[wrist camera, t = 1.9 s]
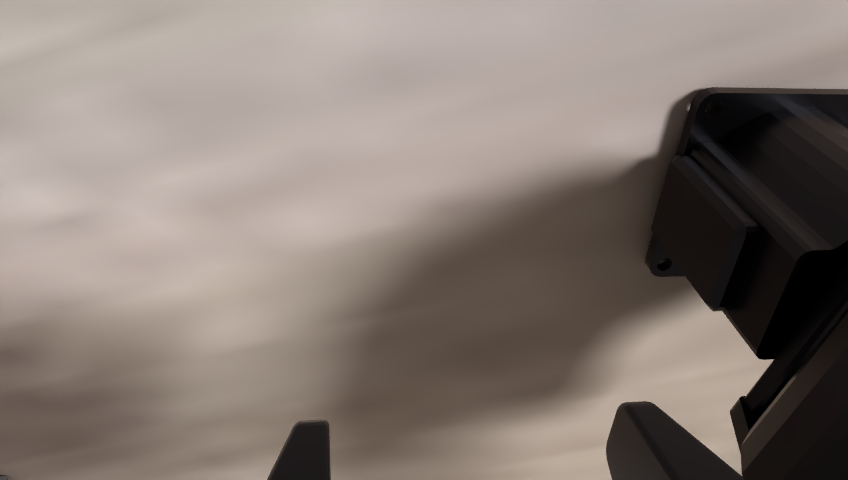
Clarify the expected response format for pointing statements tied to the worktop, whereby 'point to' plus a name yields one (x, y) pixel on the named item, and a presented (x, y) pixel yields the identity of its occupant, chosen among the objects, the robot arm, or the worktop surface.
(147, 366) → the worktop surface
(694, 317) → the worktop surface
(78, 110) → the worktop surface
